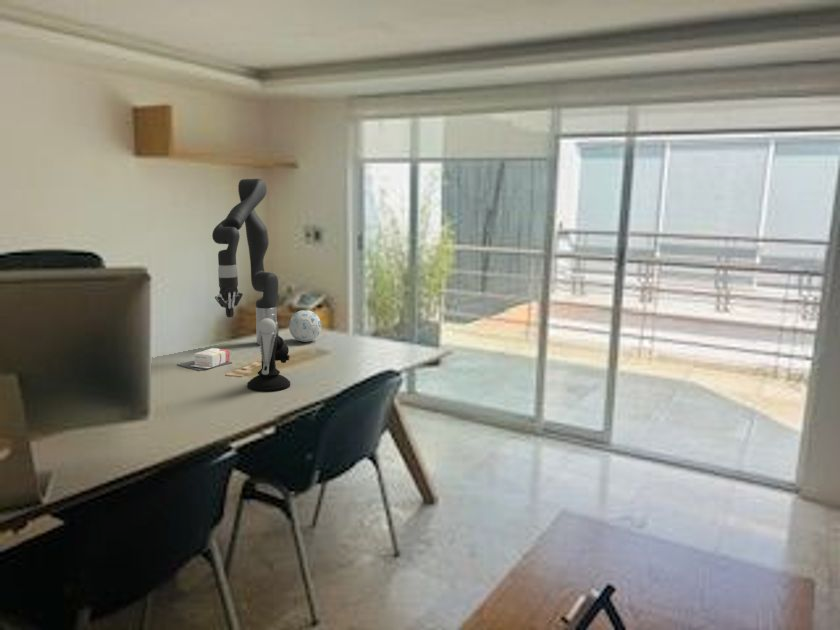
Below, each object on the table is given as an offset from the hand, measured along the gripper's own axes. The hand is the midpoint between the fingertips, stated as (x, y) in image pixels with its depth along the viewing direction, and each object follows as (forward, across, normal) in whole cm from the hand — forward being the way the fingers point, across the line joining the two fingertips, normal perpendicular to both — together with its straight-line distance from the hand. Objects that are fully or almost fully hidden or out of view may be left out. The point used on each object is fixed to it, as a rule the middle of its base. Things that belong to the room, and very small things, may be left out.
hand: (229, 316), depth 273 cm
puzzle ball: (+19, -44, 0) cm, 47 cm away
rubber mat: (+17, +14, 0) cm, 22 cm away
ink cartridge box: (+15, +6, 0) cm, 16 cm away
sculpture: (+18, +15, +41) cm, 47 cm away
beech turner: (+18, +10, +20) cm, 28 cm away
